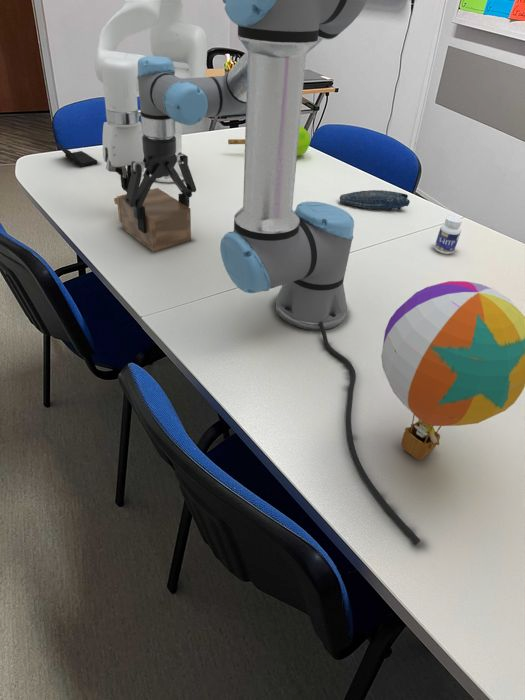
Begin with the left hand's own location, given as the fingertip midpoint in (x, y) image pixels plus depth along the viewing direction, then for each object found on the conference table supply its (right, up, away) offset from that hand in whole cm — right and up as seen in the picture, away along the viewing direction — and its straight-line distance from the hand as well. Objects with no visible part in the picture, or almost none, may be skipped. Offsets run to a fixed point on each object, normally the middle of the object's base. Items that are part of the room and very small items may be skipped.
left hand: (128, 190), depth 137 cm
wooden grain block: (+8, -12, -2) cm, 14 cm away
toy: (+60, -58, -53) cm, 99 cm away
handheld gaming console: (-26, +20, +34) cm, 47 cm away
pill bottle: (+85, -15, +4) cm, 86 cm away
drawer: (+4, -8, +1) cm, 9 cm away
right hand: (+10, -11, -6) cm, 16 cm away
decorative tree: (+38, +29, +52) cm, 71 cm away
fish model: (+69, +2, +23) cm, 73 cm away
